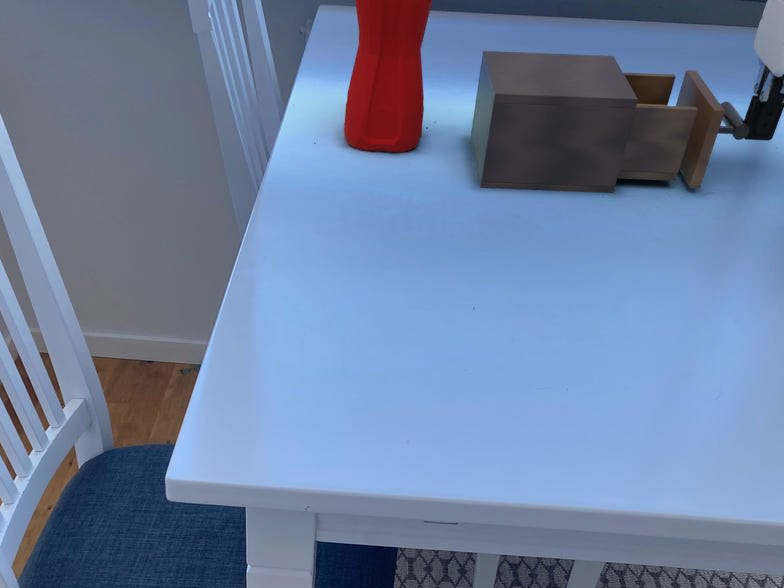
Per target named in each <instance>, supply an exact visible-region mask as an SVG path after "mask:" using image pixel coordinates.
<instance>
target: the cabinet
mask: <svg viewBox="0 0 784 588" xmlns="http://www.w3.org/2000/svg"><path fill="white" fill-rule="evenodd" d="M623 72H624V71H622V68H621V67H620V65H619V63H618V61H617V60H616V58H615V56H614V55H602V54H601V55H597V54H575V53H573V54H572V53H549V52H522V51H499V50H498V51H495V50H482V55H481V63H480V69H479V75H478V76H479V77H478V82H477V89H476V97H475V102H474V103H475V104H474V108H473V109H474V110H473V118H472V122H471V123H472V124H471V130H470V136H469V137H470V138H469V142H470V147H471V151H472V156H473V161H474V165H475V166H474V167H475V171H476V175H477V179H478V185H479V188H480V189H495V190H496V189H497V190H499V189H500V190H521V191H522V190H523V191H524V190H525V191H546V192H547V191H548V192H550V191H551V192H569V193H570V192H571V193H597V194H600V193H601V194H614V191H615V187H616V184H617V181H618V178H617V177H618V173H619V169H620V165H621V162H622V158H623V154H624V150H625V146H626V143H627V139H628V135H629V131H630V127H631V124H632V120H633V116H634V112H635V108H636V105H637V101H638V98H637V97H636V95H635V93H634V91H633V90H632V88H631V86H630V84H629V83H628V81H627V79H626V77H625V76H624V74H623Z"/></svg>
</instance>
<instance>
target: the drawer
mask: <svg viewBox="0 0 784 588" xmlns="http://www.w3.org/2000/svg"><path fill="white" fill-rule="evenodd" d="M622 72H623V74H624V76H625V77H626V79H627V81H628V83H629V84H630V86H631V88H632V90H633V91H634V93H635V95H636V97H637V98H638V101H637V104H653V105H636V108H635V112H634V116H633V120H632V124H631V127H630V131H629V135H628V139H627V143H626V146H625V150H624V154H623V158H622V162H621V165H620V169H619V173H618V177H617V179H624V180H648V181H672V182H673V181H674V182H675V181H677V178H678V175H679V171H680V173H681V175H682V177H683V179H684V180H685V182H686V184H687V186H688V187H689V188H692V189H693V188H695V189H700V188H701V186H702V183H703V180H704V178H705V174H706V171H707V167H708V166H709V165H708V164H709V161H710V159H711V156H712V153H713V149H714V147H715V143H716V141H717V136H718V134H720V135H721V134H723V135H732V137H733V138H734V139H735V140H738V141H740V140H743V139H744V138H745V137H746V136H747V134H748V132H749V127H748V126H747V124H746V123H745V122H744V118H743V117H742V116H741V115H740V113H739V112H738V110H737V109H736V108H735V106H734V105H733V104H732V103H731V102H730V101H722V103H720V102H719V100H718V99H717V98H716V96H715V95H714V93H713V92H712V90H711V89H710V88H709V87H708V85H707V83H706V82H705V81H704V79H703V77H701V75H700V74H699V72H698V71H697V70H692V69H690V70H689V69H686V70H685V72H684V76H683V79H682V82H681V86H680V89H679V93H678V95H677V96H678V97H677V100H676V103H675V106H674V105H669V101H670V98H671V95H672V91H673V88H674V85H675V80H676V78H677V77H676V74H672V73H669V74H668V73H646V72H624V71H622ZM656 105H668V106H656ZM722 122H723V124H724V125H722Z"/></svg>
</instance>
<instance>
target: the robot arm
mask: <svg viewBox="0 0 784 588" xmlns="http://www.w3.org/2000/svg"><path fill="white" fill-rule="evenodd" d="M753 49H754V52H755V54H756V55H757V56H758V58H757V60H758V61H757V63H758V65H759V69H758V73H757V76H756V80H755V84H754V86H753V95H752V96H751V99H750V102H749V105H748V108H747V111H746V113H745V117H744V118H743V120H744V122H745V123H746V124H747V126H748V127H749V132H748V134H747V136H746V137H745V138H743V139H744V140H746V141H768V142H769V141H771V140H772V139H773V138H774V136H775V134H776V133H775V132H776V129H777V127H778V124H779V122H780V120H781V116H782V114H783V111H784V0H767V1H766V4H765V6H764V9H763V13H762V15H761V18H760V20H759V24H758V27H757V30H756V34H755V37H754V42H753Z"/></svg>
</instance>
